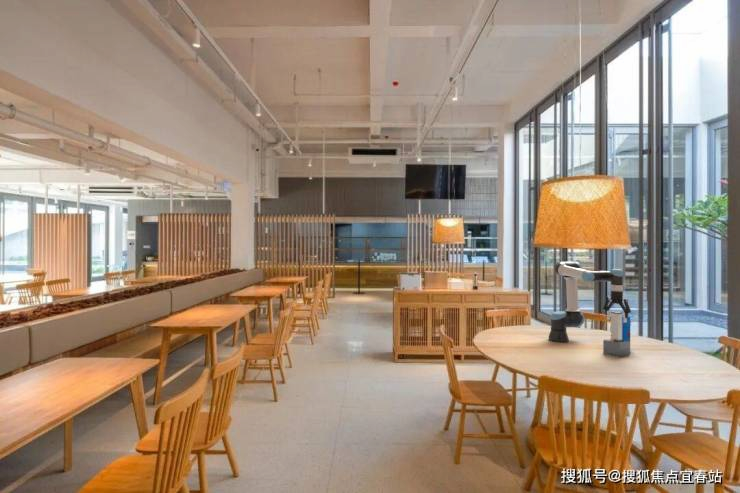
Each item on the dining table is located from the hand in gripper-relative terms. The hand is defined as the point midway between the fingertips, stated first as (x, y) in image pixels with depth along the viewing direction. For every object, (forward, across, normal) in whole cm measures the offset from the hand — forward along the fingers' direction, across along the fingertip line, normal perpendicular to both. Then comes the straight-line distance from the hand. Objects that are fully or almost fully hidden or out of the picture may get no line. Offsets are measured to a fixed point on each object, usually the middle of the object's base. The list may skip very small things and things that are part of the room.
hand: (616, 321), depth 298 cm
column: (+16, 0, 0) cm, 16 cm away
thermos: (+24, -7, +19) cm, 32 cm away
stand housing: (+24, 0, 0) cm, 24 cm away
